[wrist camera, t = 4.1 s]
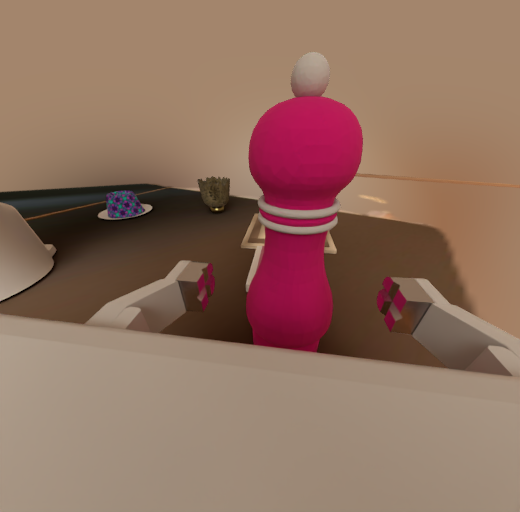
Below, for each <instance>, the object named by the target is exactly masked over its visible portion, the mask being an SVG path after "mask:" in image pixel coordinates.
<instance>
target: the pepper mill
mask: <svg viewBox="0 0 520 512" xmlns="http://www.w3.org/2000/svg"><path fill="white" fill-rule="evenodd" d="M329 77H330V69H329V65H328V62H327V60H326V59H325V57H324V56H323V55H322V54H319V53H316V52H310V53H307V54H305V55H304V56H302V57H301V58H300V59H299V60H298V61H297V63H296V65H295V66H294V69H293V72H292V76H291V87H292V91H293V93H294V95H295V97H296V98H292V99H290V100H286V101H284V102H281V103H278V104H277V105H275V106H274V107H272V108H270V109H269V110H268V111H267V112H266V113H265V114H264V115H263V116H262V117H261V118H260V120H259V121H258V123H257V125H256V127H255V128H254V130H253V133H252V136H251V140H250V145H249V168H250V172H251V175H252V176H253V178H254V180H255V182H256V183H257V184H258V185H259V187H260V188H261V189H262V191H263V194H264V195H263V196H261V197H260V198H259V200H258V206H259V207H260V212H259V214H258V219H259V221H260V223H261V224H263V225H264V226H265V244H264V253H263V256H262V260H261V263H260V265H259V267H258V269H257V271H256V273H255V275H254V277H253V279H252V281H251V283H250V287H249V290H248V294H247V299H246V313H247V317H248V321H249V323H250V325H251V327H252V328H253V343H254V345H259V346H267V347H275V348H283V349H291V350H300V351H308V352H317V349H318V345H319V341H320V338H321V337H322V336H323V335H324V334H325V333H326V331H327V330H328V328H329V326H330V323H331V319H332V312H333V301H332V293H331V289H330V286H329V283H328V280H327V276H326V272H325V267H324V247H325V240H326V236H327V233H328V230H330V229H332V228H333V227H334V226H335V225H336V224H337V216H336V215H337V212H338V210H339V209H340V206H341V204H340V202H339V201H338V200H337V199H336V198H335V197H336V196H337V194H338V193H339V192H340V191H341V190H342V189H343V188H345V187H346V186H347V185H348V184H349V183H350V182H351V181H352V179H353V178H354V176H355V174H356V172H357V170H358V167H359V165H360V162H361V156H362V145H363V138H362V130H361V127H360V125H359V122H358V120H357V118H356V116H355V115H354V114H353V112H352V111H351V110H350V109H349V108H348V107H346V106H345V105H344V104H342V103H339V102H337V101H334V100H332V99H329V98H325V97H320V96H321V95H322V94H323V93H324V92H325V89H326V87H327V85H328V82H329Z"/></svg>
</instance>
